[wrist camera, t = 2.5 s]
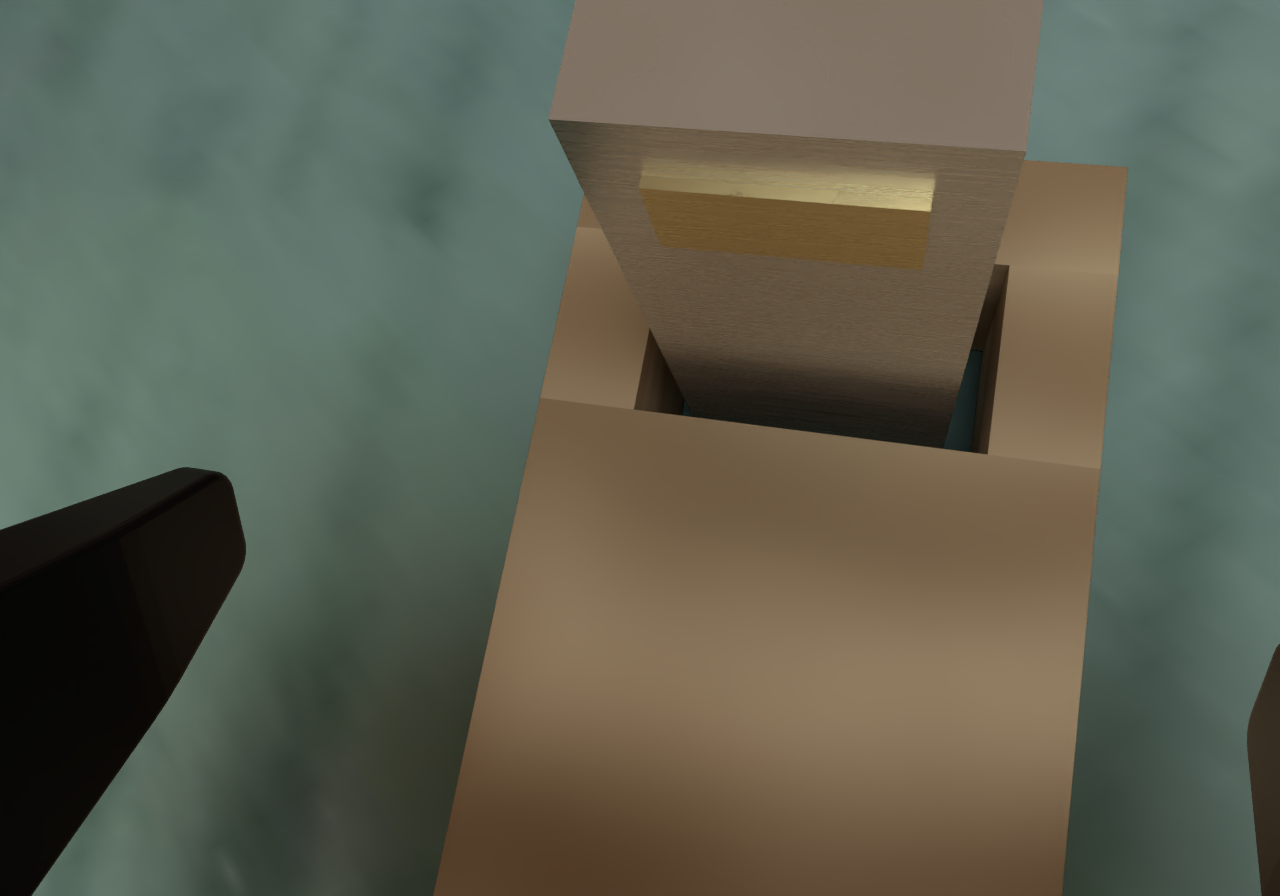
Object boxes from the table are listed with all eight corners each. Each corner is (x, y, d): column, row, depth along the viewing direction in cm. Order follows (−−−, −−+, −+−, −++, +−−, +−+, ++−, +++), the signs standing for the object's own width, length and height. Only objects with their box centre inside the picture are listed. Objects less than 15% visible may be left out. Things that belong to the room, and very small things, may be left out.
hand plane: (962, 1454, 17) (1046, 2010, 10) (427, 1280, 19) (147, 1624, 12) (1080, 270, 22) (1200, 9, 14) (639, 230, 24) (536, -15, 16)
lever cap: (934, 481, 21) (1023, 166, 10) (704, 450, 22) (545, 133, 11) (948, 369, 22) (1049, -54, 10) (723, 344, 23) (590, -67, 11)
